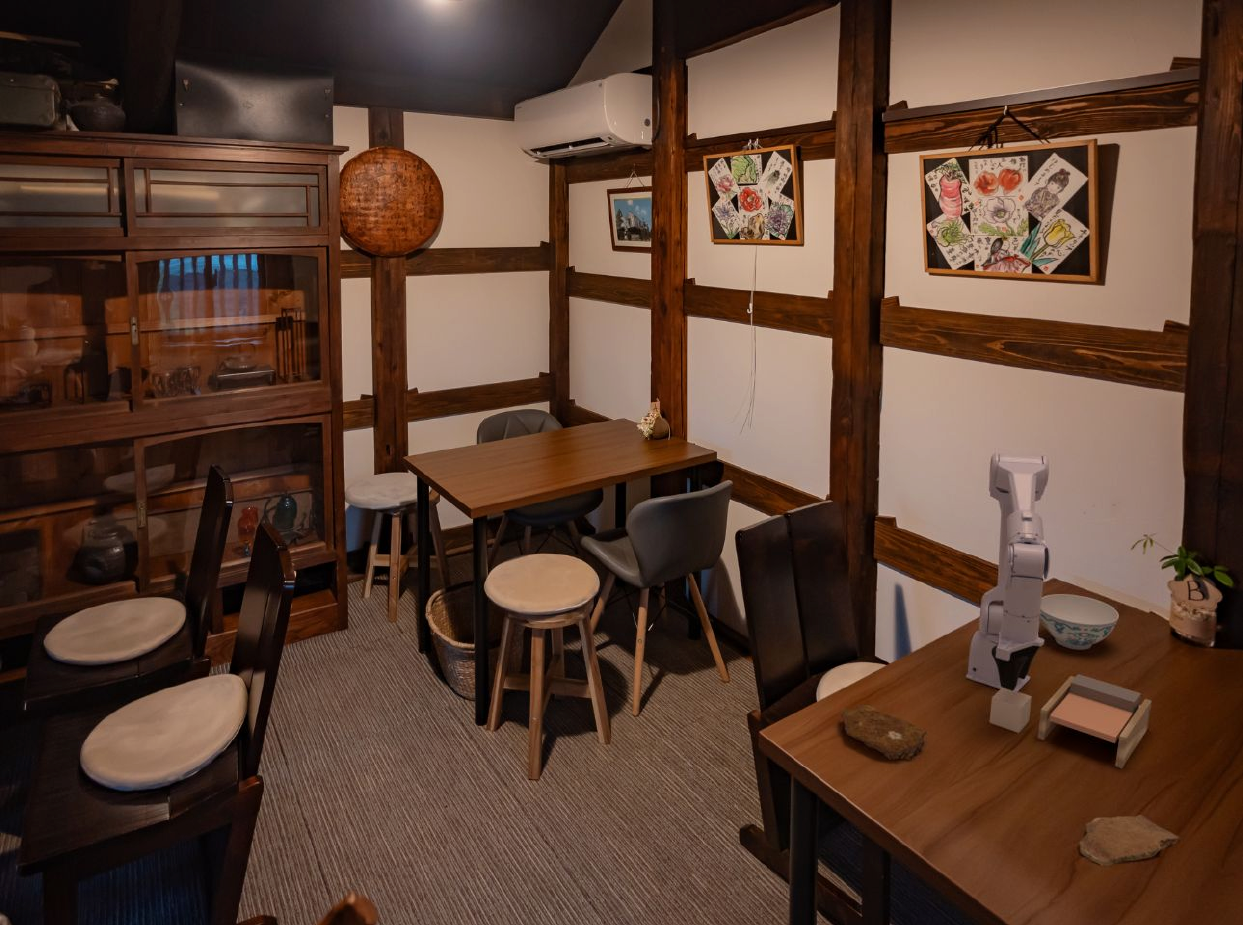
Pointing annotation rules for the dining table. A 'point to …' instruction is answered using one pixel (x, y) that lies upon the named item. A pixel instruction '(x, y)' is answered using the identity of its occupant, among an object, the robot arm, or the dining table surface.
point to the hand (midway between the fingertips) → (1013, 682)
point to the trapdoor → (1097, 708)
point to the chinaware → (1077, 619)
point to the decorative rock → (883, 732)
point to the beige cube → (1010, 709)
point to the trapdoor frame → (1126, 739)
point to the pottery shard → (1123, 839)
